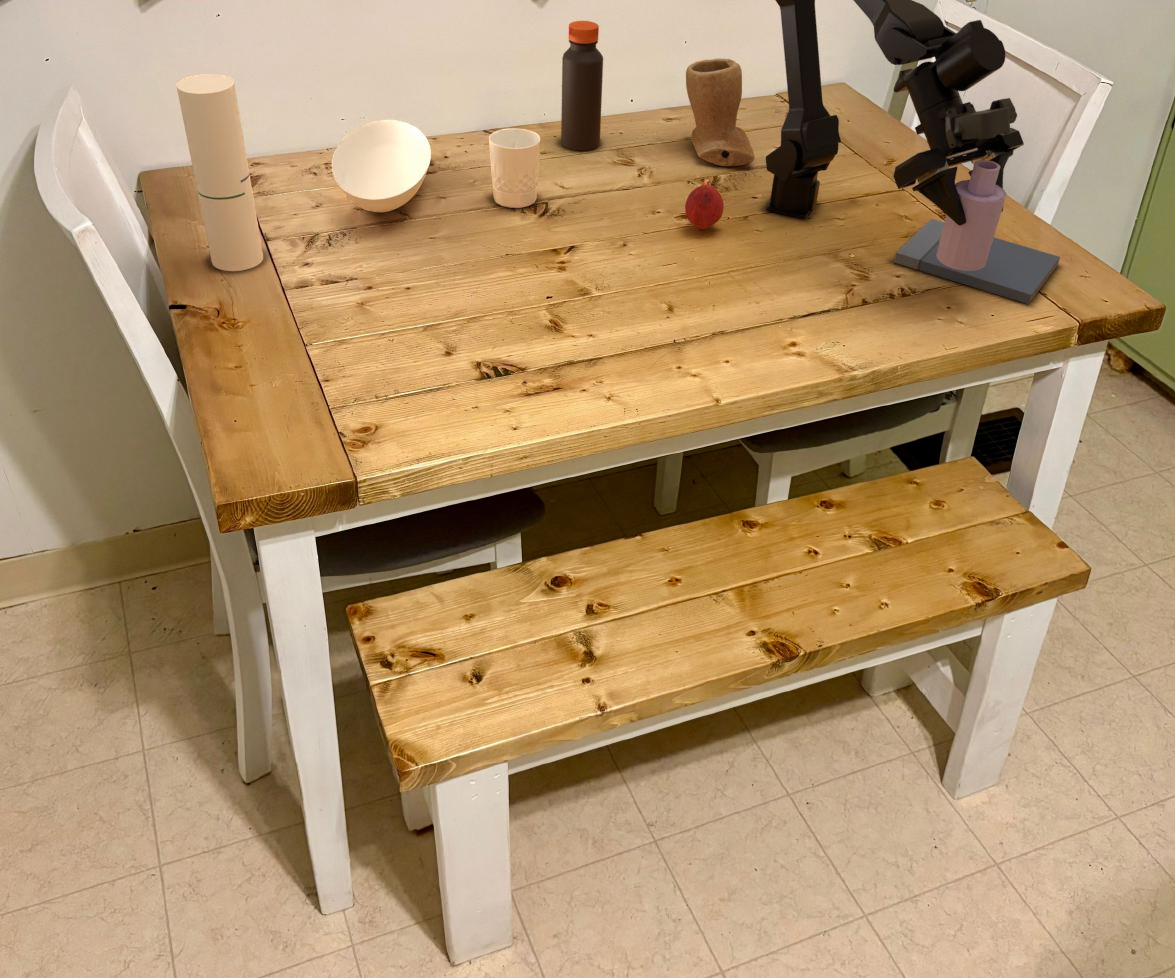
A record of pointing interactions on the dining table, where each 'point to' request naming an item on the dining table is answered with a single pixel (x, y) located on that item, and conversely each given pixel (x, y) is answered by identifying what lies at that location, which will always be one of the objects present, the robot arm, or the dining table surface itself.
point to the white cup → (514, 166)
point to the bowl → (381, 164)
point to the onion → (704, 206)
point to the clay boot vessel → (717, 112)
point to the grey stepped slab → (1003, 274)
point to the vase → (973, 220)
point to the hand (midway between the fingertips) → (981, 218)
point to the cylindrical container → (221, 170)
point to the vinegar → (581, 88)
